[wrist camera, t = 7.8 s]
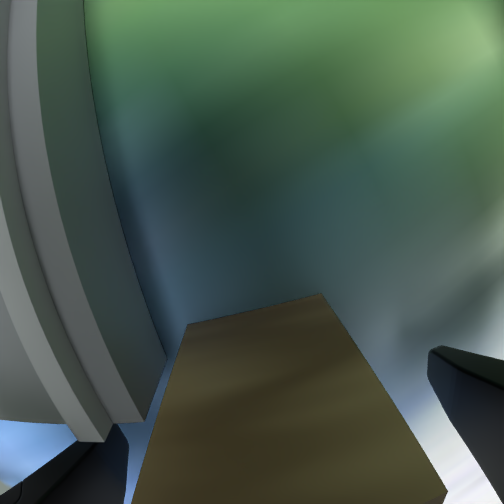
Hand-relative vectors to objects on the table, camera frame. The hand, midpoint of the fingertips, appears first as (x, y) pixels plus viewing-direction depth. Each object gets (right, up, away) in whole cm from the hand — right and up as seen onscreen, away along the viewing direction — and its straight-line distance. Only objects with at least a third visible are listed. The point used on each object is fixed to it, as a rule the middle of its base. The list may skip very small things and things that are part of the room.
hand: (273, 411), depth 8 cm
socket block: (-11, +7, 0) cm, 13 cm away
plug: (0, +1, +2) cm, 2 cm away
